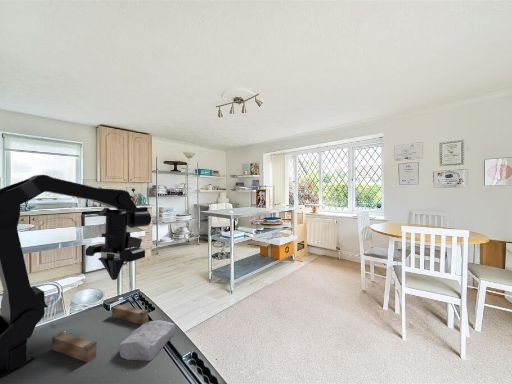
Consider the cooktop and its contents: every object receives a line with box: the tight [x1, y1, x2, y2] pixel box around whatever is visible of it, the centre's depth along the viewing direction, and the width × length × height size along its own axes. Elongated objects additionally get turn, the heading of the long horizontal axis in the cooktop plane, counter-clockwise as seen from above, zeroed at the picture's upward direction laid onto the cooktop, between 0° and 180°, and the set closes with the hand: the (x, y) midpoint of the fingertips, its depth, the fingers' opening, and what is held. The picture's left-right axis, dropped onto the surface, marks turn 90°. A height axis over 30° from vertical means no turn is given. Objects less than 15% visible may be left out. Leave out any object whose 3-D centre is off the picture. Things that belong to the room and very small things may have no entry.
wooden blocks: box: [51, 303, 150, 364], centre depth 62 cm, size 12×18×3 cm
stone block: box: [119, 319, 176, 362], centre depth 58 cm, size 12×5×10 cm
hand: (114, 279), depth 69 cm, fingers closed
